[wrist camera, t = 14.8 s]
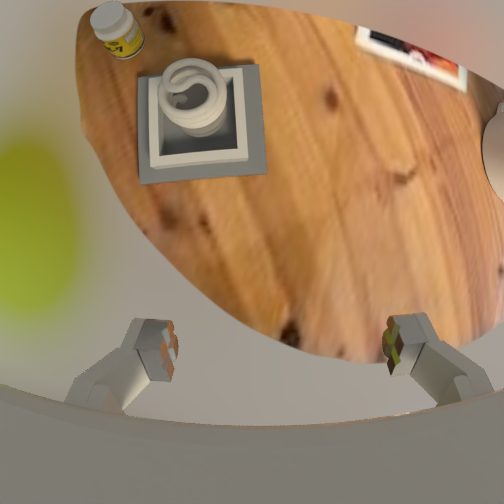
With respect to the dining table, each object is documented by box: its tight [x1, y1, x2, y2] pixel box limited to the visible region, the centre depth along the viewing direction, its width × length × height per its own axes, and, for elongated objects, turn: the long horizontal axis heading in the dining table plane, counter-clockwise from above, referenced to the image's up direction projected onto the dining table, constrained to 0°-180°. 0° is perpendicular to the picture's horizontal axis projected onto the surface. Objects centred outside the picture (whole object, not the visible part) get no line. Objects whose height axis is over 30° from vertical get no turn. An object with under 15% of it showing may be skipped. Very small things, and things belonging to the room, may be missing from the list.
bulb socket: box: [138, 64, 267, 185], centre depth 32 cm, size 14×13×4 cm
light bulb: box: [157, 58, 227, 137], centre depth 27 cm, size 6×6×12 cm
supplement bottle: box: [90, 1, 145, 59], centre depth 28 cm, size 5×5×8 cm
